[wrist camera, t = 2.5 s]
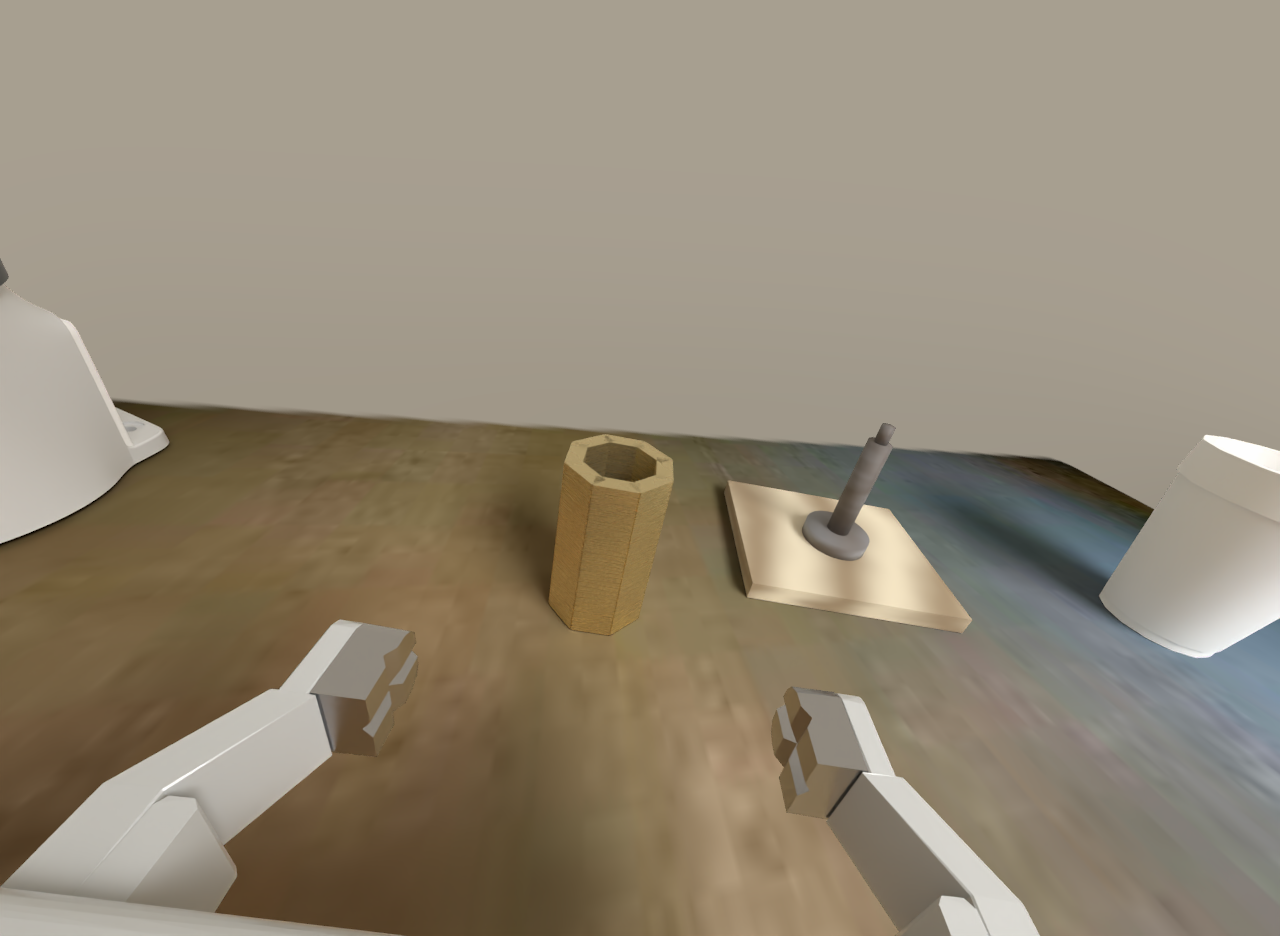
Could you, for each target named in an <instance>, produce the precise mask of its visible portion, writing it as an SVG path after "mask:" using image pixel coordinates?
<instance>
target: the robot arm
mask: <svg viewBox="0 0 1280 936" xmlns="http://www.w3.org/2000/svg"><path fill="white" fill-rule="evenodd" d="M7 279H8V274H7V272H6V270H5V268H4V265H3V264H2V261H1V259H0V543H3V542H6V541H9V540H12V539H14V538H17V537H19V536H22V535H25V534H27V533H30V532H32V531H35V530H37V529H39V528H42V527H44V526H46V525H49V524H51V523H53V522H55V521H57V520H60V519H62V518H64V517H66V516H68V515H70V514H72V513H73V512H75V511H77V510H79V509H81V508H83V507H84V506H86V505H88V504H89V503H91V502H93V501H94V500H96V499H97V498H99V497H100V496H101V495H103V494H104V493H105V492H107V491H108V490H109V489H110V488H111V487H112V486H114V485H115V484H116V483H117V481H118V480H119V479H120V478H121V477H122V476H123V475H124V473H125V472H126V471H127V470H128V469H129V468H130V467H132V466H133V465H134V464H136V463H138V462H140V461H142V460H144V459H146V458H147V457H149V456H151V455H153V454H155V453H157V452H159V451H160V450H162V449H164V448H165V447H166V446H167V445H168V444H169V440H168V438H167V436H166V435H165V433H164V431H163V429H162V428H160V427H158V426H156V425H154V424H152V423H149V422H147V421H145V420H143V419H140V418H138V417H136V416H134V415H132V414H129V413H127V412H125V411H123V410H120V409H118V408H116V407H115V406H114V404H113V402H112V400H111V398H110V396H109V394H108V392H107V390H106V388H105V386H104V383H103V381H102V379H101V377H100V375H99V373H98V371H97V369H96V367H95V365H94V363H93V361H92V359H91V357H90V355H89V353H88V351H87V349H86V347H85V345H84V342H83V341H82V338H81V336H80V334H79V333H78V331H77V329H76V328H75V326H74V325H73V324H72V323H71V322H70V321H67V320H64V319H60V318H59V317H57V316H56V315H55V314H54V313H52V312H50V311H48V310H46V309H43V308H41V307H38V306H36V305H34V304H32V303H30V302H28V301H26V300H25V299H23V298H21V297H19V296H18V295H17V294H16V293H14V292H13V291H11V290H10V289H9V288H7V286H6V285H4V284H3V283H4V282H6V281H7ZM415 644H416V638H415V632H412V631H406V630H400V629H395V628H389V627H383V626H377V625H371V624H366V623H360V622H353V621H347V620H340V619H339V620H338V621H337V622H335V623H334V624H332V625H331V626H330V627H329V628H328V629H327V631H326V632H325V633H324V634H323V635H322V637H321V638H320V639H319V640H318V642H317V643H316V644H315V645H314V647H313V648H312V649H311V650H310V651H309V653H308V654H307V655H306V656H305V658H304V659H303V660H302V661H301V663H300V664H299V665H298V666H297V667H296V669H295V670H294V671H293V672H292V674H291V675H290V676H289V677H288V678H287V680H286V681H285V682H284V683H283V685H282V686H281V687H280V688H279V689H269V690H267V691H266V692H264V693H262V694H260V695H258V696H257V697H255V698H253V699H251V700H250V701H248V702H246V703H244V704H243V705H241V706H239V707H237V708H235V709H234V710H232V711H230V712H228V713H227V714H225V715H223V716H221V717H219V718H218V719H216V720H214V721H212V722H211V723H209V724H207V725H205V726H204V727H202V728H200V729H198V730H196V731H195V732H193V733H191V734H189V735H188V736H186V737H184V738H182V739H180V740H179V741H177V742H175V743H173V744H172V745H170V746H168V747H166V748H164V749H163V750H161V751H159V752H157V753H156V754H154V755H152V756H150V757H149V758H147V759H145V760H143V761H141V762H140V763H138V764H136V765H134V766H133V767H131V768H129V769H127V770H125V771H124V772H122V773H120V774H118V775H117V776H115V777H113V778H111V779H109V780H108V781H106V782H104V783H103V784H102V785H101V786H100V787H99V788H98V789H97V790H96V791H95V792H94V793H93V794H92V795H91V796H90V797H89V798H88V799H87V800H86V801H85V802H84V803H83V804H82V805H81V806H80V807H79V808H78V809H77V810H76V811H75V812H74V813H73V814H72V815H71V816H70V817H69V818H68V819H67V820H66V821H65V822H64V823H63V824H62V825H61V826H60V827H59V828H58V829H57V830H56V831H55V832H54V833H53V834H52V835H51V836H50V837H49V838H48V839H47V840H46V841H45V842H44V843H43V844H42V845H41V846H40V847H39V848H38V849H37V850H36V851H35V852H34V853H33V854H32V855H31V856H30V857H29V858H28V859H27V860H26V861H25V862H24V863H23V864H22V865H21V866H20V867H19V868H18V869H17V870H16V871H15V872H14V873H13V874H12V875H11V876H10V877H9V878H8V879H7V881H6V882H5V883H4V884H3V885H2V886H1V887H0V936H405V935H396V934H388V933H379V932H371V931H363V930H354V929H346V928H337V927H329V926H321V925H312V924H304V923H295V922H287V921H279V920H270V919H262V918H253V917H245V916H237V915H228V914H220V913H215V911H216V909H217V908H218V906H219V905H220V903H221V901H222V900H223V898H224V897H225V895H226V893H227V892H228V890H229V889H230V887H231V885H232V884H233V882H234V881H235V879H236V878H237V869H236V865H235V864H234V862H233V860H232V859H231V857H230V855H229V854H228V852H227V850H226V849H225V847H224V844H226V843H227V842H228V841H229V840H230V839H232V838H233V837H234V836H235V835H237V834H238V833H239V832H240V831H241V830H243V829H244V828H245V827H246V826H247V825H249V824H250V823H251V822H252V821H253V820H255V819H256V818H257V817H258V816H259V815H261V814H262V813H263V812H264V811H266V810H267V809H268V808H269V807H270V806H272V805H273V804H274V803H275V802H276V801H278V800H279V799H280V798H281V797H282V796H284V795H285V794H286V793H287V792H288V791H290V790H291V789H292V788H293V787H294V786H296V785H297V784H298V783H299V782H301V781H302V780H303V779H304V778H305V777H307V776H308V775H309V774H310V773H311V772H313V771H314V770H315V769H316V768H317V767H319V766H320V765H321V764H322V763H323V762H325V761H326V760H327V759H328V758H329V757H331V756H332V752H334V753H344V754H353V755H363V756H372V757H377V756H378V754H379V752H380V750H381V748H382V746H383V744H384V743H385V741H386V739H387V737H388V735H389V733H390V731H391V729H392V728H393V726H394V717H393V711H395V710H396V709H398V708H399V707H401V706H402V705H403V704H405V703H406V701H407V699H408V697H409V695H410V693H411V691H412V689H413V686H414V683H415V680H416V677H417V671H418V657H417V656H416V655H415V653H414V652H413V651H412V649H413V647H414V646H415ZM783 697H784V701H785V705H784V706H782V707H780V708H778V709H777V710H776V712H775V715H774V717H773V720H772V728H771V737H772V746H773V751H774V755H775V757H776V758H777V759H778V760H779V762H780V763H781V764H782V766H783V767H784V768H783V770H782V772H781V774H780V776H779V780H780V785H781V789H782V794H783V799H784V803H785V808H786V812H787V813H792V814H798V815H804V816H810V817H816V818H822V819H828V820H827V821H826V822H827V824H828V825H829V827H830V828H831V830H832V831H833V833H834V834H835V836H836V837H837V839H838V840H839V842H840V843H841V845H842V846H843V848H844V849H845V851H846V852H847V854H848V855H849V857H850V858H851V860H852V861H853V863H854V864H855V866H856V867H857V869H858V870H859V872H860V873H861V875H862V876H863V878H864V879H865V881H866V883H867V884H868V886H869V887H870V889H871V890H872V892H873V893H874V895H875V896H876V898H877V899H878V901H879V902H880V904H881V905H882V907H883V908H884V910H885V911H886V913H887V914H888V916H889V917H890V919H891V920H892V922H893V923H894V925H895V926H896V928H897V929H898V931H899V933H897V934H896V935H895V936H1040V935H1039V933H1038V931H1037V929H1036V928H1035V926H1034V924H1033V922H1032V920H1031V918H1030V916H1029V914H1028V912H1027V910H1026V908H1025V907H1024V905H1023V903H1022V902H1021V901H1020V900H1019V899H1018V898H1017V897H1016V896H1015V895H1014V894H1013V893H1012V892H1011V891H1010V890H1009V889H1008V888H1007V887H1006V885H1005V884H1004V883H1003V882H1002V881H1001V880H1000V879H999V878H998V877H997V876H996V875H995V874H994V873H993V872H992V871H991V870H990V869H989V868H988V867H987V866H986V864H985V863H984V862H983V861H982V860H981V859H980V858H979V857H978V856H977V855H976V854H975V853H974V852H973V851H972V850H971V849H970V848H969V847H968V846H967V845H966V843H965V842H964V841H963V840H962V839H961V838H960V837H959V836H958V835H957V834H956V833H955V832H954V831H953V830H952V829H951V828H950V827H949V826H948V825H947V824H946V822H945V821H944V820H943V819H942V818H941V817H940V816H939V815H938V814H937V813H936V812H935V811H934V810H933V809H932V808H931V807H930V806H929V805H928V804H927V803H926V801H925V800H924V799H923V798H922V797H921V796H920V795H919V794H918V793H917V792H916V791H915V790H914V789H913V788H912V787H911V786H910V785H909V784H908V783H907V782H906V780H905V779H904V778H902V777H897V776H895V774H894V771H893V769H892V766H891V764H890V762H889V759H888V757H887V755H886V752H885V750H884V748H883V745H882V743H881V741H880V738H879V736H878V734H877V731H876V729H875V726H874V724H873V722H872V719H871V717H870V715H869V712H868V710H867V708H866V705H865V703H864V701H863V700H862V699H861V698H860V697H858V696H853V695H845V694H838V693H834V692H828V691H821V690H813V689H805V688H798V687H790V688H789V689H787V691H786V692H785V694H784V696H783Z"/></svg>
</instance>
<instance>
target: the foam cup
mask: <svg viewBox="0 0 1280 936" xmlns="http://www.w3.org/2000/svg"><path fill="white" fill-rule="evenodd" d="M1176 470H1177V471H1178V472H1179V473H1178V474H1177V476H1176V477H1175V479H1174V481H1173V482H1172V483H1171V485H1170V486H1169V488H1168V490H1167V491H1166V493H1165V494H1164V496H1163V497H1162V499H1161V500H1160V502H1159V503H1158V505H1157V506H1156V508H1155V509H1154V511H1153V513H1152V514H1151V516H1150V517H1149V519H1148V520H1147V522H1146V523H1145V525H1144V526H1143V528H1142V529H1141V531H1140V533H1139V534H1138V536H1137V537H1136V539H1135V540H1134V542H1133V543H1132V545H1131V546H1130V548H1129V550H1128V551H1127V553H1126V554H1125V556H1124V557H1123V559H1122V560H1121V562H1120V563H1119V565H1118V566H1117V568H1116V570H1115V571H1114V573H1113V574H1112V576H1111V577H1110V579H1109V580H1108V582H1107V583H1106V585H1105V587H1104V588H1103V590H1102V592H1101V593H1100V595H1099V597H1100V599H1101V601H1102V603H1103V604H1104V606H1105V608H1107V609H1108V610H1109V611H1110V612H1111V613H1112V614H1113V615H1114V616H1115V617H1117V618H1118V619H1119V620H1120V621H1121V622H1122V623H1124V624H1125V625H1127V626H1128V627H1130V628H1131V629H1133V630H1134V631H1136V632H1138V633H1139V634H1141V635H1142V636H1144V637H1145V638H1147V639H1149V640H1151V641H1153V642H1155V643H1157V644H1159V645H1161V646H1163V647H1166V648H1168V649H1170V650H1172V651H1174V652H1178V653H1181V654H1184V655H1188V656H1191V657H1194V658H1203V657H1210V656H1212V655H1213V654H1214V653H1215V652H1220V651H1222V650H1224V649H1226V648H1227V647H1229V646H1231V645H1233V644H1234V643H1236V642H1238V641H1240V640H1241V639H1243V638H1245V637H1247V636H1249V635H1250V634H1252V633H1254V632H1256V631H1257V630H1259V629H1261V628H1263V627H1265V626H1266V625H1268V624H1270V623H1272V622H1273V621H1275V620H1277V619H1279V618H1280V451H1277V450H1273V449H1270V448H1266V447H1263V446H1259V445H1256V444H1251V443H1247V442H1243V441H1239V440H1234V439H1231V438H1226V437H1219V436H1210V435H1205V436H1204V437H1203V438H1202V439H1201V440H1200V442H1199V443H1198V444H1197V445H1196V446H1195V447H1194V448H1193V450H1192V451H1191V452H1190V453H1189V454H1188V455H1187V456H1186V457H1185V458H1184V460H1183V461H1182V462H1181V463H1180V464H1179V466H1178V467H1177V469H1176Z"/></svg>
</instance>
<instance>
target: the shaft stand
mask: <svg viewBox="0 0 1280 936" xmlns="http://www.w3.org/2000/svg"><path fill="white" fill-rule="evenodd" d="M895 429H896V428H895V427H894V426H892V425H890V424H886V423H883V424H882V426H881V428H880V430H879V432H878V434H877V436H876V438H873V437H872V438H869V439H868V441H867V443H866V445H865V447H864V449H863V451H862V453H861V455H860V457H859V459H858V462H857V464H856V466H855V468H854V470H853V472H852V474H851V476H850V478H849V480H848V482H847V484H846V487H845V489H844V491H843V493H842V495H841V497H840V499H839V500H835V499H829V498H824V497H818V496H813V495H807V494H801V493H796V492H790V491H785V490H779V489H774V488H768V487H762V486H757V485H751V484H746V483H740V482H735V481H729V480H728V482H727V485H726V488H725V491H724V494H725V499H726V503H727V508H728V512H729V517H730V522H731V526H732V531H733V535H734V540H735V545H736V549H737V554H738V558H739V563H740V568H741V572H742V577H743V581H744V586H745V591H746V595H747V597H748V598H754V599H760V600H766V601H772V602H778V603H784V604H790V605H796V606H802V607H808V608H814V609H820V610H826V611H832V612H838V613H844V614H850V615H856V616H862V617H868V618H875V619H881V620H887V621H893V622H899V623H905V624H911V625H917V626H923V627H929V628H935V629H941V630H947V631H953V632H959V633H963V631H964V630H965V629H966V627H967V626H968V625H969V624H970V622H971V621H972V619H971V618H970V616H969V615H968V614H967V612H966V611H965V610H964V608H963V607H962V606H961V604H960V603H959V602H958V600H957V599H956V598H955V596H954V595H953V594H952V592H951V591H950V590H949V588H948V587H947V586H946V584H945V583H944V582H943V580H942V579H941V578H940V576H939V575H938V574H937V572H936V571H935V570H934V568H933V567H932V566H931V564H930V563H929V562H928V560H927V559H926V558H925V556H924V555H923V554H922V552H921V551H920V550H919V548H918V547H917V546H916V545H915V543H914V542H913V541H912V539H911V538H910V537H909V535H908V534H907V533H906V531H905V530H904V529H903V527H902V526H901V525H900V523H899V522H898V521H897V519H896V518H895V517H894V515H893V514H892V513H891V511H890V510H889V509H885V508H879V507H874V506H868V505H863V504H864V502H865V500H866V499H867V497H868V495H869V493H870V491H871V489H872V487H873V485H874V483H875V481H876V479H877V477H878V475H879V473H880V471H881V469H882V467H883V466H884V464H885V462H886V460H887V458H888V456H889V454H890V452H891V450H892V448H893V446H892V445H891V444H890V443H889V440H890V438H891V437H892V435H893V433H894V431H895Z"/></svg>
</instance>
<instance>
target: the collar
mask: <svg viewBox="0 0 1280 936" xmlns="http://www.w3.org/2000/svg"><path fill="white" fill-rule="evenodd" d="M672 485H673V460H672V459H671V458H669V457H668V456H666V455H665V454H663V453H661V452H660V451H658V450H657V449H655V448H654V447H652V446H651V445H649V444H648V443H646V442H644V441H640V440H634V439H629V438H623V437H618V436H612V435H607V434H606V435H605V434H604V435H599V436H595V437H591V438H586V439H582V440H577V441H573V442H572V444H571V446H570V449H569V451H568V454H567V457H566V459H565V462H564V471H563V479H562V488H561V497H560V506H559V515H558V523H557V532H556V541H555V550H554V559H553V567H552V576H551V585H550V594H549V605H550V606H551V608H552V609H553V610H554V611H555V612H556V613H557V615H558V616H559V617H560V618H561V619H562V620H563V622H564V623H565V624H566V625H567V626H568V627H569V629H571V630H577V631H583V632H589V633H595V634H602V635H608V636H609V635H612V634H613V633H615V632H617V631H618V630H620V629H622V628H623V627H625V626H627V625H628V624H630V623H632V622H633V621H635V620H637V619H638V618H639V614H640V610H641V606H642V602H643V598H644V594H645V590H646V586H647V583H648V579H649V575H650V571H651V567H652V563H653V559H654V555H655V551H656V547H657V544H658V540H659V536H660V532H661V528H662V524H663V520H664V516H665V512H666V508H667V505H668V501H669V497H670V493H671V489H672Z"/></svg>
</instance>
